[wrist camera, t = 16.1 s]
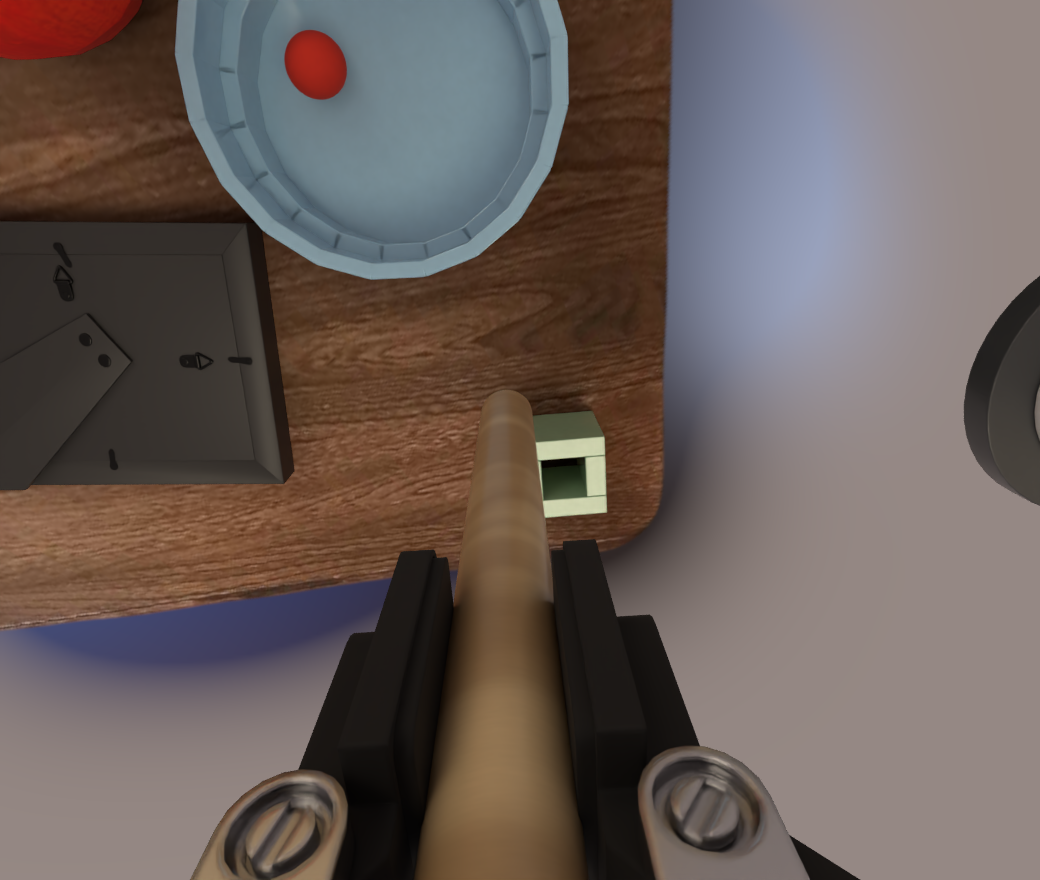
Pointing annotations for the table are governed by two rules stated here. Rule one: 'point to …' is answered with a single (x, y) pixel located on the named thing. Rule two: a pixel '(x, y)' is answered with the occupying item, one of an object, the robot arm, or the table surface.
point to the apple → (60, 26)
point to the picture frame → (138, 356)
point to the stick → (503, 683)
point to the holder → (578, 483)
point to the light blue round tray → (380, 123)
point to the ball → (315, 64)
